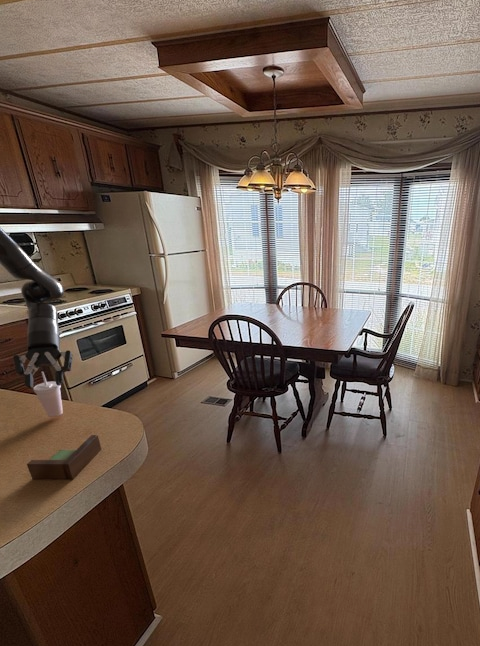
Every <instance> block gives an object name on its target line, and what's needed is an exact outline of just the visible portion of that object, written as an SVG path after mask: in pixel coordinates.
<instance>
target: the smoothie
mask: <svg viewBox="0 0 480 646" xmlns="http://www.w3.org/2000/svg"><path fill="white" fill-rule="evenodd" d="M41 376H42V379H43V382H41V383H38V384H36V385H35V386H33V392H34V394H36V395H37V398H38V399H39V402H40V403H41V406H42V408H43V409H44V412H45V413H46V416H47V417H48V418H57V417H59V416H61V415H63V413H64V411H63V410H64V409H63V402H62V394H61V387H62V384H61V385H59V386H58V385H57V384H56V380H53V381H52V380H51V381H47V378H46V375H45V372H44V370H43V371H41Z"/></svg>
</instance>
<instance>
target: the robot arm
mask: <svg viewBox="0 0 480 646" xmlns="http://www.w3.org/2000/svg"><path fill="white" fill-rule="evenodd" d="M0 265H1V266H2V267H3V268H4V270H5V271H7V272H8V274H10V276H12V277H13V278H15V279H17V280H30V281H26V282H25V283H23V284H22V286H21V290H20V291H21V295H22V298H23V300H24V301H25V302H24V303H25V305H26V308H27V310H28V323H27V352H26V353H25V354H24V355H18V354H14V355H13V357H12V358H13V361H14V362H13V363H14V367H15V373H16V374H17V375H18V376H20V377H24V385H25V387H27V388H28V389H29V390H32V389H33V388H34V375H35V374H36V372H38V370H39V368H44V367H54V369H55V370H56V371H55V382H56V384H57V385H58V386H59V385H61V386H62V384H63V383H64V374H65V373H66V372H71V370H72V363H73V356H74V355H73V353H72V352H71V351H70V350H68V349H67V350H66V351H61V344H60V343H61V342H60V341H61V340H60V335H61V333H60V327H59V320H58V319H59V317H58V315H59V314H58V309H57V307H56V306H55V305H53V304H51V303H49V302H51V301H55V300H59V299H61V298H62V297H63V296H64V293H65V291H64V288H63V285H62V284H61V282H60V281H59V280H58V279H57V278H56V277H55V276H53V275H52V274H50V273H49V272H47V271H46V270H45V269H43V268H42V267H40V266H39V265H38V264H36V263H35V261H34V260H33V259H32V258H31V257H30V256H29V255H28V254H27V252H26V251H25V250H24V249H23V248H22V246H20V245H19V244H18V243H17V242H16V241H15V239H13V238H12V237H11V236H10V235H9V234H8V233H7V232H6V231H5V230H4V229H3V228H2V227H0ZM61 357H62V358H63V359H64V360H63V366H61V365H60V364H59V363H58V361H59V360H60V359H61ZM26 360H28V361H29V362H28V363H27V367H26V369H25V368H24V364H25V363H26ZM33 390H34V389H33Z"/></svg>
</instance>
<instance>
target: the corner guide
mask: <svg viewBox="0 0 480 646" xmlns="http://www.w3.org/2000/svg"><path fill="white" fill-rule="evenodd" d="M101 450H102V446H101V443H100V438H99V435H98V434H91V435H90V436H89V437H88V438H87V439H86V440H85V441H84V442H83V443H82V444H81V445H80V446H78V448H76V449H58V451H56V453H55V454H53V455H52V456H51V457H49V459H31V460H30V461H29V462H27V463H26V466H27V469H28V471H29V474H30V477H31V479H32V481H33V480H34V481H40V480H42V481H43V480H48V481H51V480H52V481H53V480H65V481H67V480H68V481H69V480H70V481H71V480H72V481H73V480H74V479H76V478H77V476H78V475H80V473H81V472H82V471H83V470H84V468H85V467H86V466H88V464H89V463H90V462H91V461H92V460H93V459H94V458H95V457H96V456H97V455H98V454H99V452H100V451H101Z"/></svg>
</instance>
